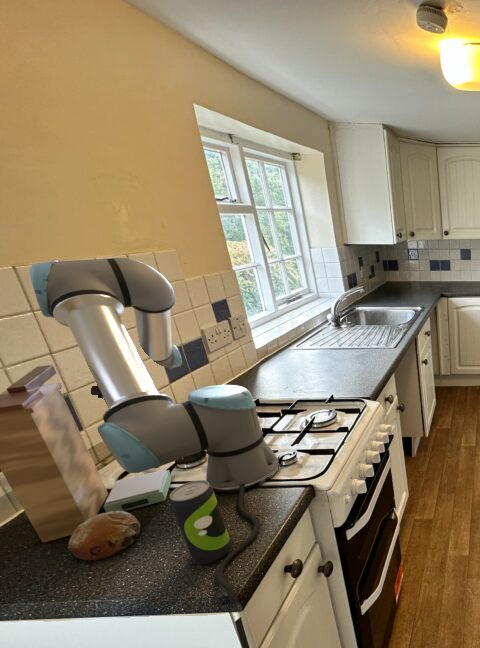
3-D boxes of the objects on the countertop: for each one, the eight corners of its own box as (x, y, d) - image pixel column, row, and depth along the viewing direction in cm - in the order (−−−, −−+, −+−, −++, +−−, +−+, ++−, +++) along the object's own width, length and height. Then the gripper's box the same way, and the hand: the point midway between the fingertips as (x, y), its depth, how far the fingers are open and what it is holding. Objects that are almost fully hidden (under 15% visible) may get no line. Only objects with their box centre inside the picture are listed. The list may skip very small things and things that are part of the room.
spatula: (24, 409, 74) (18, 399, 73) (-26, 417, 71) (-32, 406, 70) (67, 371, 91) (63, 363, 90) (29, 376, 88) (25, 368, 88)
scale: (165, 501, 93) (160, 490, 92) (106, 516, 89) (101, 505, 87) (172, 478, 101) (168, 467, 100) (119, 490, 97) (114, 480, 96)
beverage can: (200, 546, 81) (175, 483, 75) (236, 538, 82) (215, 476, 77) (188, 570, 75) (161, 504, 69) (227, 561, 77) (204, 496, 71)
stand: (92, 529, 85) (31, 407, 74) (38, 543, 81) (-34, 418, 70) (111, 492, 96) (60, 382, 85) (64, 504, 92) (5, 390, 82)
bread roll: (139, 535, 88) (119, 503, 87) (154, 533, 83) (133, 499, 81) (78, 568, 80) (55, 533, 79) (90, 568, 74) (65, 531, 73)
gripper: (163, 399, 119) (135, 386, 100) (43, 419, 107) (-13, 409, 89) (158, 374, 119) (129, 357, 101) (38, 392, 108) (-19, 376, 89)
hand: (62, 382), depth 95 cm, fingers open, 13 cm apart
